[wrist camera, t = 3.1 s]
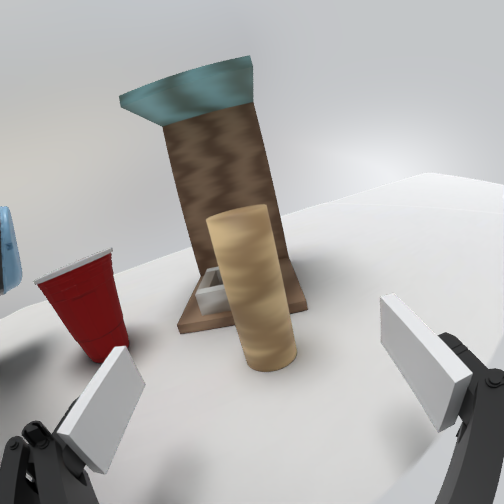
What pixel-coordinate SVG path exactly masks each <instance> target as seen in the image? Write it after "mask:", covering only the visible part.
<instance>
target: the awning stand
mask: <svg viewBox="0 0 504 504" xmlns="http://www.w3.org/2000/svg"><path fill="white" fill-rule="evenodd" d="M119 99H120V105H121V107H122V108H124V109H126V110H128V111H130V112H132V113H134V114H137V115H139V116H141V117H143V118H145V119H147V120H149V121H151V122H154V123H156V124H158V125H160V126H162V127H163V132H164V136H165V141H166V146H167V150H168V154H169V159H170V163H171V167H172V172H173V176H174V180H175V184H176V188H177V192H178V196H179V199H180V203H181V207H182V211H183V215H184V219H185V223H186V226H187V230H188V233H189V237H190V241H191V244H192V248H193V251H194V255H195V258H196V262H197V265H198V268H199V272H200V275H201V277H200V279H199V281H198V283H197V285H196V287H195V289H194V291H193V293H192V295H191V297H190V299H189V301H188V303H187V305H186V308H185V310H184V312H183V314H182V316H181V318H180V320H179V322H178V324H177V327H178V329H179V332H180V334H183V333H189V332H196V331H202V330H208V329H214V328H220V327H226V326H231V325H235V322H234V319H233V315H232V312H231V308H230V305H229V302H228V298H227V295H226V291H225V288H224V284H223V281H222V277H221V274H220V270H219V266H218V263H217V259H216V256H215V252H214V248H213V244H212V241H211V237H210V233H209V229H208V226H207V222H206V219H207V218H209V217H211V216H214V215H216V214H219V213H222V212H226V211H229V210H233V209H237V208H242V207H247V206H252V205H260V204H265V205H267V209H268V214H269V218H270V223H271V227H272V232H273V236H274V241H275V246H276V250H277V255H278V260H279V265H280V269H281V274H282V279H283V284H284V289H285V293H286V298H287V303H288V308H289V313H290V314H291V313H295V312H300V311H304V310H308V309H307V303H306V299H305V296H304V294H303V291H302V289H301V286H300V284H299V281H298V279H297V277H296V274H295V272H294V269H293V267H292V264H291V262H290V259H289V256H288V251H287V246H286V242H285V237H284V232H283V227H282V222H281V218H280V213H279V208H278V205H277V199H276V195H275V190H274V186H273V181H272V178H271V173H270V168H269V164H268V160H267V156H266V151H265V147H264V143H263V139H262V135H261V131H260V127H259V123H258V119H257V115H256V111H255V107H254V103H253V65H252V61H251V58H250V56H245V57H240V58H235V59H230V60H226V61H222V62H218V63H214V64H210V65H206V66H202V67H199V68H196V69H192V70H188V71H185V72H182V73H179V74H176V75H173V76H170V77H167V78H164V79H161V80H158V81H155V82H153V83H150V84H148V85H145V86H142V87H140V88H137V89H135V90H132V91H130V92H127V93H125V94H123V95H120V96H119Z"/></svg>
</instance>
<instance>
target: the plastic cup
mask: <svg viewBox="0 0 504 504" xmlns="http://www.w3.org/2000/svg"><path fill="white" fill-rule="evenodd" d="M112 251H113V250H112V248H108V249H105V250H103V251H100V252H97V253H95V254H92V255H90V256H87V257H85V258H82V259H80V260H78V261H75V262H73V263H70V264H68V265H66V266H63V267H61V268H59V269H57V270H54V271H52V272H50V273H48V274H46V275H44V276H42V277H40V278H38V279H36V280H34V281H33V282H34V284H35V285H36V284H37V285H38V287H39V288H40V290H42V292H43V294H44V295H45V296H46V298H47V299H48V301H49V303H50V304H51V305H52V306H53V308H54V309H55V311H56V313H57V314H58V316H59V317H60V319H61V320H62V322H63V323H64V325H65V326H66V328H67V329H68V331H69V332H70V333H71V335H72V336H73V338H74V339H75V340H76V341H77V342H78V343H79V345H80V346H81V347H82V349H83V350H84V351H85V353H86V354H87V355H88V357H89V358H91V359H92V361H93V362H97V363H103V362H104V361H105V360H106V358H107V357H108V355H109V354H110V353H111V351H112V350H113V348H114V347H118V346H126V347H127V348H128V346H129V340H128V334H127V331H126V327H125V324H124V320H123V314H122V310H121V306H120V302H119V298H118V294H117V290H116V286H115V281H114V277H113V269H112V260H111V255H112V254H111V252H112Z"/></svg>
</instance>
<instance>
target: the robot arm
mask: <svg viewBox="0 0 504 504" xmlns="http://www.w3.org/2000/svg"><path fill="white" fill-rule="evenodd" d="M21 280H22V268H21V262H20V257H19V252H18V247H17V242H16V237H15V232H14V227H13V222H12V217H11V213H10V210H9V208H8V207H7V206H4V207H2V206H1V207H0V295H3V294H6V292H7V291H9V290H11V289H12V288H15V287H16V286H18V285H19V284H20V282H21ZM380 312H381V344H382V345H383V346H384V348H385V349H386V351H387V352H388V354H389V355H390V357H391V358H392V360H393V361H394V363H395V364H396V366H397V367H398V369H399V371H400V372H401V374H402V375H403V377H404V378H405V380H406V381H407V383H408V384H409V386H410V388H411V389H412V391H413V392H414V394H415V396H416V397H417V399H418V400H419V402H420V404H421V405H422V407H423V408H424V410H425V412H426V413H427V415H428V417H429V418H430V420H431V422H432V423H433V425H434V427H435V428H436V430H437V432H438V433H439V432H441V431H443V430H445V429H447V428H448V427H450V426H452V425H454V424H455V422H456V419H457V417H458V415H459V416H460V418H461V419H462V421H463V422H462V424H461V426H460V428H459V430H458V433H457V435H456V437H458V438H457V442H456V446H455V449H454V453H453V456H452V459H451V462H450V465H449V468H448V472H447V474H446V477H445V480H444V482H443V485H442V488H441V490H440V493H439V495H438V498H437V500H436V502H435V504H493V500H494V497H495V493H496V490H497V486H498V482H499V478H500V473H501V468H502V463H503V458H504V371H502V370H500V369H496V368H495V369H488V368H487V367H486V366H485V365H484V364H483V363H482V362H481V361H480V360H479V359H478V358H477V357H476V356H475V355H474V354H473V353H472V352H471V351H470V350H468V348H467V347H466V346H465V345H463V344H462V342H461V341H460V340H459V339H458V338H457V337H455V336H453V335H451V334H449V333H446V332H445V333H443V334H440V335H438V336H437V335H436V334H435V333H434V332H433V331H432V330H431V328H430V327H429V326H428V325H427V324H426V323H424V322H423V321H422V320H421V319H420V318H419V317H418V316H417V315H416V314H415V313H414V312H413V311H412V310H411V309H410V308H409V307H408V306H407V305H406V304H405V303H404V302H403V301H402V300H401V299H400V298H399V297H398V296H397V295H396V294H394V293H391V294H388V295H384V296H381V297H380ZM145 385H146V384H145V382H144V380H143V378H142V376H141V375H140V373H139V371H138V369H137V367H136V365H135V363H134V361H133V359H132V357H131V355H130V353H129V351H128V349H127V347H126V346H118V347H114V348H113V350H112V351H111V353H110V354H109V355H108V357H107V358H106V360H105V361H104V362H103V364H102V365H101V367H100V368H99V369H98V371H97V372H96V374H95V375H94V377H93V378H92V379H91V381H90V382H89V384H88V385H87V387H86V388H85V390H84V391H83V393H82V394H81V396H79V397H78V398H77V399H76V400H75V401H73V403H72V404H71V406H70V407H69V409H68V410H67V412H66V413H65V416H63V418H62V419H61V421H60V422H59V424H58V425H57V427H56V428H55V430H54V432H53V433H52V435H51V433H50V432H49V431H48V430H47V429H46V427H45V426H44V425H43V424H42V423H41V422H40V421H32V422H30V423H29V424H27V425H26V426H25V427H24V429H23V431H22V436H23V437H24V438H25V439H26V440H27V442H28V443H29V444H27V443H26V442H25V441H24V440H23V439H22V438H21V437H20V436H15V437H12V438H11V439H9V441H8V442H7V444H6V446H5V450H4V454H3V458H2V463H1V467H0V504H99V503H98V500H97V498H96V495H95V493H94V490H93V487H92V485H91V482H90V479H89V476H88V474H87V472H86V471H85V470H84V467H85V465H87V466H88V467H89V468H90V469H91V470H92V471H93V472H97V473H101V474H107V471H108V469H109V467H110V464H111V462H112V459H113V457H114V455H115V452H116V450H117V448H118V445H119V443H120V441H121V438H122V436H123V434H124V431H125V429H126V427H127V425H128V422H129V420H130V418H131V416H132V413H133V411H134V409H135V407H136V405H137V402H138V400H139V398H140V396H141V394H142V392H143V389H144V387H145ZM26 473H27V474H28V475H30V476H31V477H32V482H31V481H29V480H28V479H27V478H26Z"/></svg>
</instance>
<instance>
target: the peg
mask: <svg viewBox="0 0 504 504" xmlns="http://www.w3.org/2000/svg"><path fill="white" fill-rule="evenodd" d="M206 222H207V226H208V229H209V233H210V237H211V241H212V244H213V248H214V252H215V256H216V259H217V263H218V266H219V270H220V274H221V277H222V281H223V284H224V288H225V291H226V295H227V298H228V302H229V305H230V308H231V312H232V315H233V319H234V322H235V325H236V329H237V332H238V335H239V339H240V342H241V345H242V348H243V352H244V355H245V358H246V361H247V364H248V366H249V367H250V368H252V369H254V370H256V371H261V372H270V371H275V370H279V369H281V368H284V367H286V366H287V365H289V364H290V363H291V362H292V361H293V360H294V359H295V357H296V354H297V349H296V344H295V339H294V334H293V329H292V323H291V318H290V313H289V308H288V303H287V298H286V293H285V289H284V284H283V279H282V274H281V269H280V265H279V260H278V255H277V250H276V246H275V241H274V236H273V232H272V227H271V223H270V218H269V214H268V209H267V205H265V204H260V205H252V206H247V207H242V208H237V209H233V210H229V211H226V212H222V213H219V214H216V215H214V216H211V217H209V218H207V219H206Z"/></svg>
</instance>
